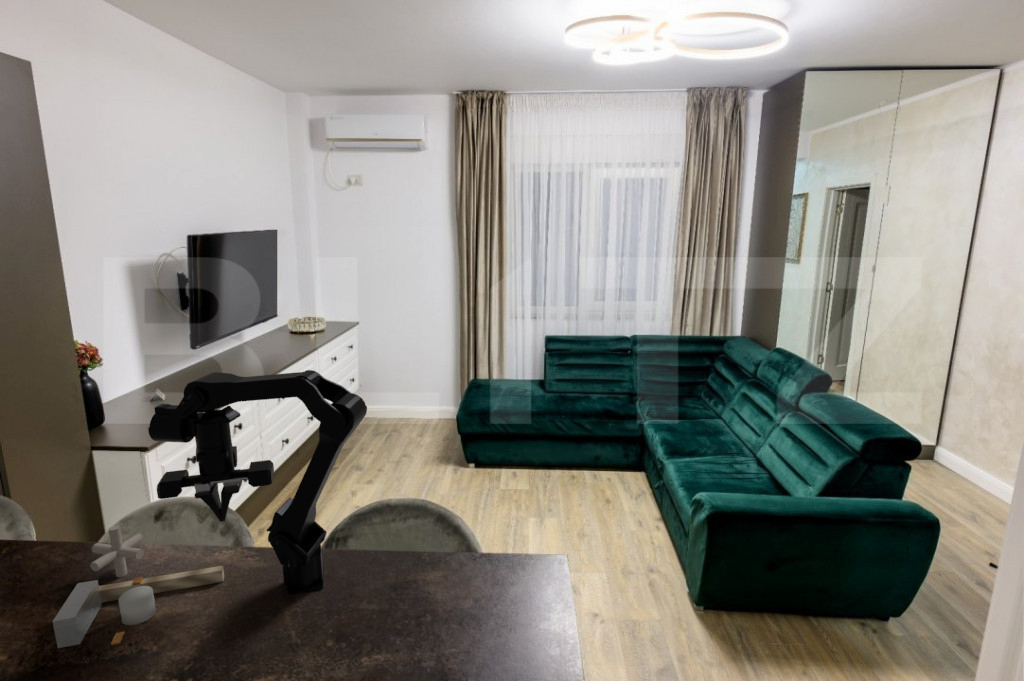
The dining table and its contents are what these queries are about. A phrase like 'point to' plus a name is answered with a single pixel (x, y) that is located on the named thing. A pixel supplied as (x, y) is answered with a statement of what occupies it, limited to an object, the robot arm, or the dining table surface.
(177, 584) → the oak rail
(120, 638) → the small orange-brown block
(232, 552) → the dining table surface
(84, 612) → the block
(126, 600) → the grey egg-shaped dome
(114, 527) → the pipe connector
